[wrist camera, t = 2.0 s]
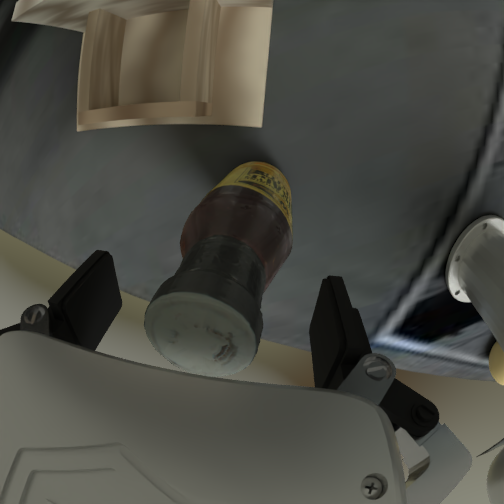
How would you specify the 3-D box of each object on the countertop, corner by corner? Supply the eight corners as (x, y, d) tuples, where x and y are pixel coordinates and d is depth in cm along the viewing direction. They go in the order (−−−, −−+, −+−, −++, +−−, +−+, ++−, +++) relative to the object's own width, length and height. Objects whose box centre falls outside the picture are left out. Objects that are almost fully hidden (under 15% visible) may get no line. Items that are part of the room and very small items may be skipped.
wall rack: (273, -5, 16) (267, -74, 6) (262, 126, 23) (247, 137, 13) (91, 19, 17) (16, 2, 7) (82, 130, 24) (1, 153, 14)
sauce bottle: (302, 200, 26) (334, 376, 9) (248, 230, 28) (202, 410, 11) (265, 143, 24) (224, 229, 7) (211, 177, 26) (91, 313, 9)
